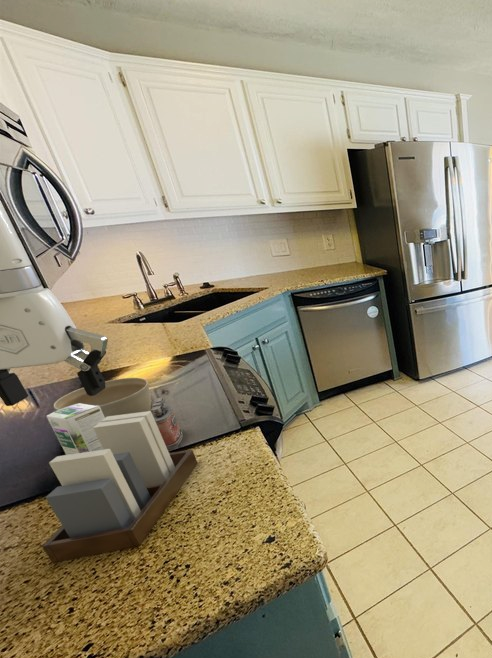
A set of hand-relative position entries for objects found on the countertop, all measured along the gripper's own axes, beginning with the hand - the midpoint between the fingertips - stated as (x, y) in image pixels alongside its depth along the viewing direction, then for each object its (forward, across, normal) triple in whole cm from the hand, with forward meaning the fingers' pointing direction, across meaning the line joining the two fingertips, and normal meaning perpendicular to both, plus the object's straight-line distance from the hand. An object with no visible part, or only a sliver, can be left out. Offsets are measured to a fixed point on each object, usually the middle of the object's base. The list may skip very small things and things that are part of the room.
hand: (58, 396), depth 61 cm
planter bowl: (+25, -18, +36) cm, 48 cm away
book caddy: (+25, -1, +5) cm, 25 cm away
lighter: (+25, -4, +28) cm, 38 cm away
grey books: (+25, -1, -1) cm, 25 cm away
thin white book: (+25, -1, -1) cm, 25 cm away
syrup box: (+25, -13, +19) cm, 34 cm away
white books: (+25, -1, +11) cm, 27 cm away
